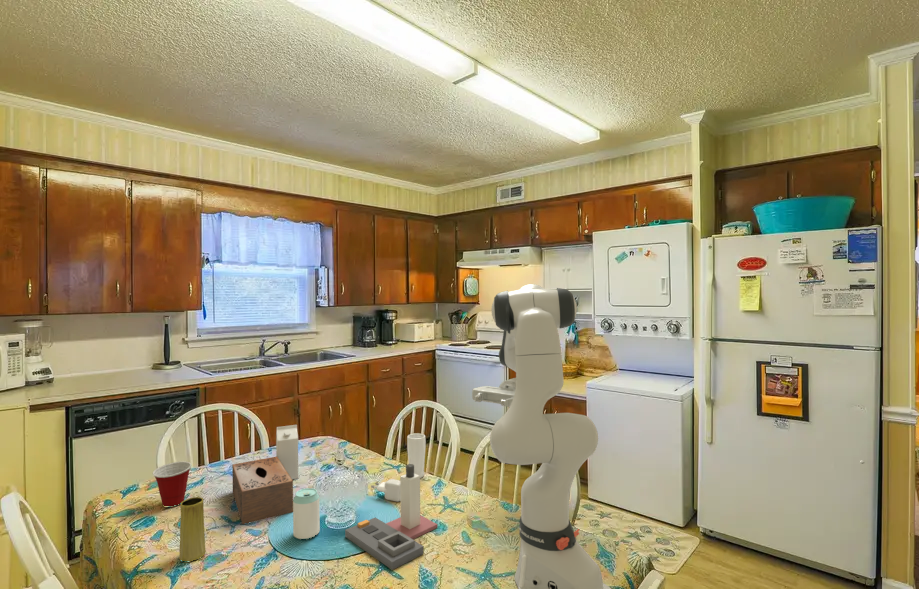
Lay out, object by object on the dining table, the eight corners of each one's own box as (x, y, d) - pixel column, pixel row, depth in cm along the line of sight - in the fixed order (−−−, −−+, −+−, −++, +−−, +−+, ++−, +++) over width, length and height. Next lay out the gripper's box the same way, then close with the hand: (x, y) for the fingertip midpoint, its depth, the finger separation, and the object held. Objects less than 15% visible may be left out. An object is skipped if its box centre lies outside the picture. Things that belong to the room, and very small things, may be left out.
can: (325, 532, 132) (324, 490, 132) (305, 543, 126) (304, 499, 126) (307, 525, 136) (307, 485, 136) (287, 537, 130) (287, 494, 130)
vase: (200, 547, 125) (199, 494, 125) (210, 555, 121) (209, 500, 121) (175, 557, 120) (174, 502, 120) (184, 565, 116) (183, 509, 116)
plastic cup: (144, 510, 147) (143, 472, 147) (172, 495, 157) (172, 460, 157) (172, 513, 144) (172, 475, 144) (199, 498, 155) (199, 462, 155)
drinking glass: (422, 480, 168) (422, 439, 168) (405, 479, 169) (404, 438, 169) (428, 473, 174) (427, 433, 174) (410, 472, 176) (410, 432, 176)
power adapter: (369, 497, 154) (369, 480, 154) (377, 492, 159) (377, 474, 159) (398, 503, 150) (398, 485, 150) (406, 497, 154) (405, 479, 154)
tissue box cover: (232, 493, 159) (232, 464, 159) (277, 484, 167) (276, 456, 167) (242, 525, 137) (242, 491, 137) (293, 512, 145) (292, 480, 145)
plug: (420, 524, 134) (419, 465, 134) (409, 529, 131) (409, 469, 131) (411, 519, 137) (410, 462, 137) (400, 524, 134) (400, 465, 134)
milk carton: (276, 475, 174) (275, 424, 174) (296, 472, 177) (295, 422, 177) (277, 482, 168) (277, 429, 168) (298, 478, 171) (297, 427, 170)
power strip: (423, 553, 121) (423, 540, 121) (392, 570, 114) (392, 555, 114) (375, 524, 137) (375, 512, 136) (345, 536, 130) (345, 524, 130)
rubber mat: (437, 527, 134) (437, 524, 134) (407, 542, 126) (407, 538, 126) (413, 514, 142) (413, 511, 142) (383, 527, 134) (383, 524, 134)
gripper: (485, 380, 157) (461, 387, 146) (540, 386, 146) (519, 394, 134) (485, 398, 158) (461, 407, 146) (540, 406, 146) (519, 416, 134)
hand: (489, 401), depth 140 cm, fingers open, 8 cm apart
